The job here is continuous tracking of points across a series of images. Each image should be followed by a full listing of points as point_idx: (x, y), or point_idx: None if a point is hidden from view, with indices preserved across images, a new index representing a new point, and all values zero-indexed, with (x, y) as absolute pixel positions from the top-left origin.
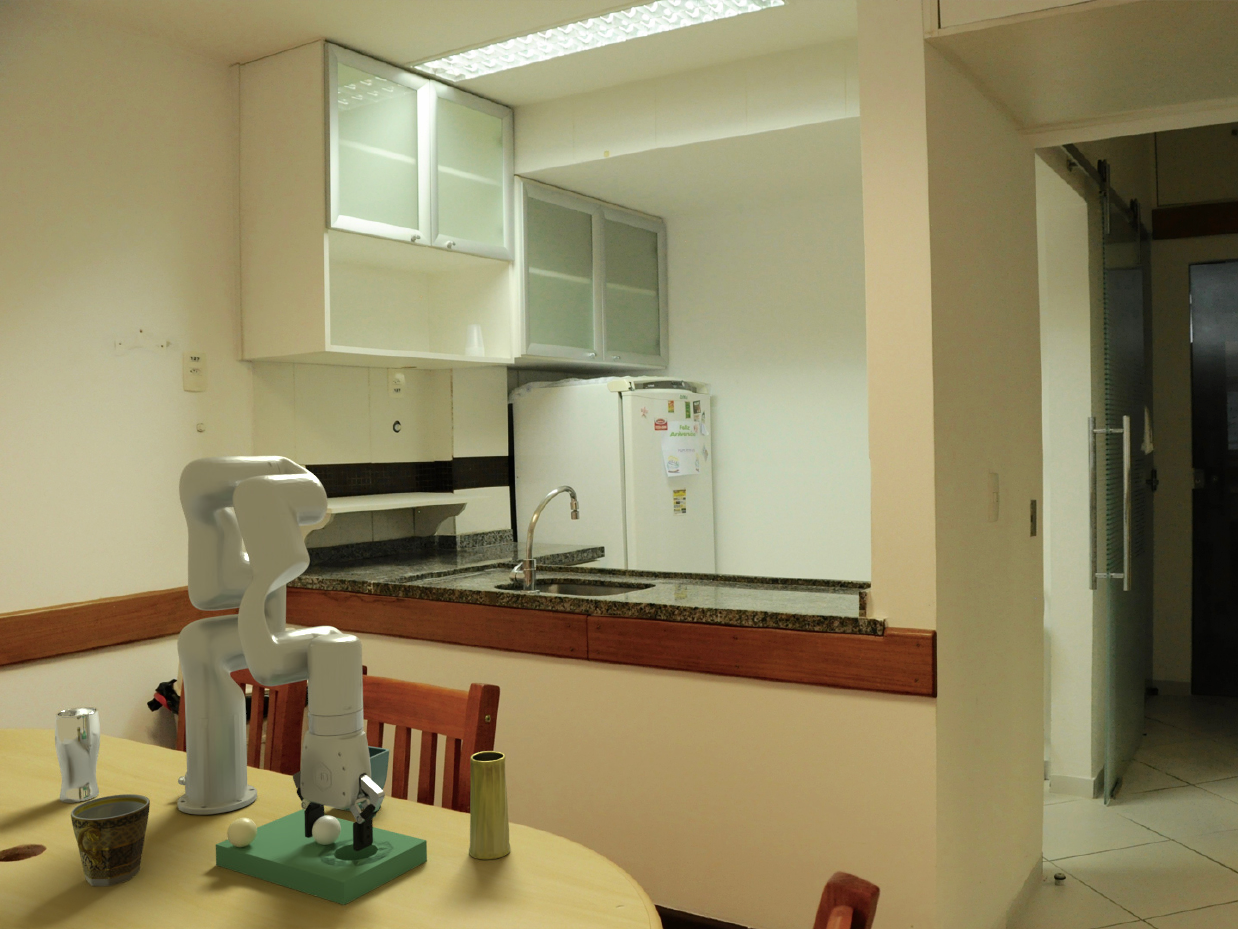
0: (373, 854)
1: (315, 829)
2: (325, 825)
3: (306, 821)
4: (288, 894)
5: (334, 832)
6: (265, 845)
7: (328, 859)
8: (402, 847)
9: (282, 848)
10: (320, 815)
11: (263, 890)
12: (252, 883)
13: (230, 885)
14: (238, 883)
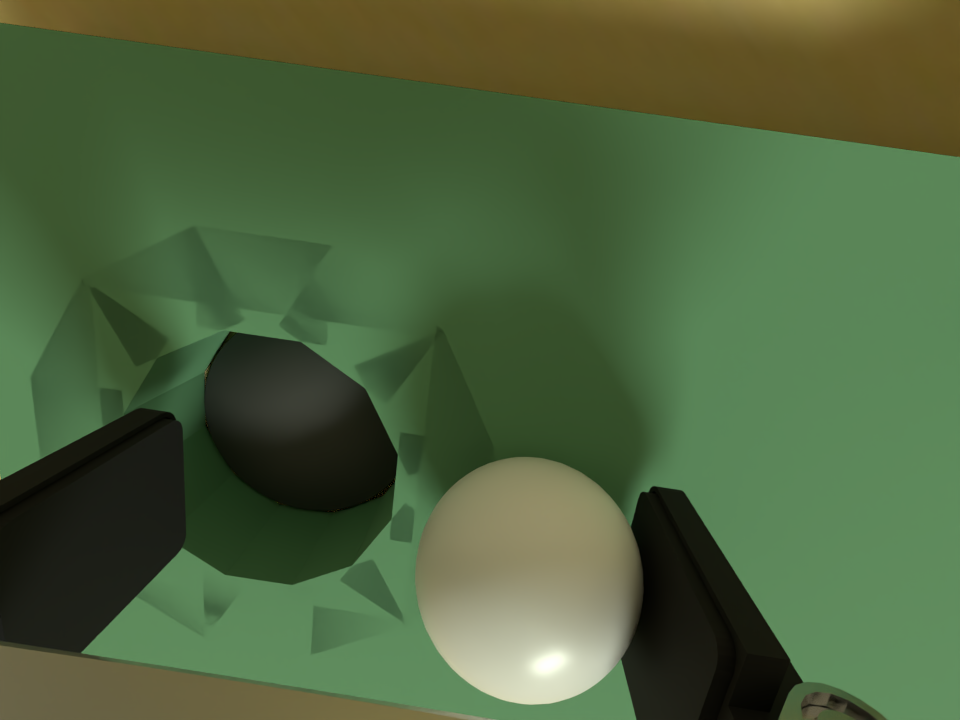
0: (270, 542)
1: (558, 502)
2: (472, 554)
3: (706, 566)
4: (465, 51)
5: (421, 545)
6: (950, 348)
7: (329, 306)
8: None
9: (781, 347)
10: (652, 698)
11: (651, 33)
12: (785, 91)
13: (916, 4)
14: (878, 53)
